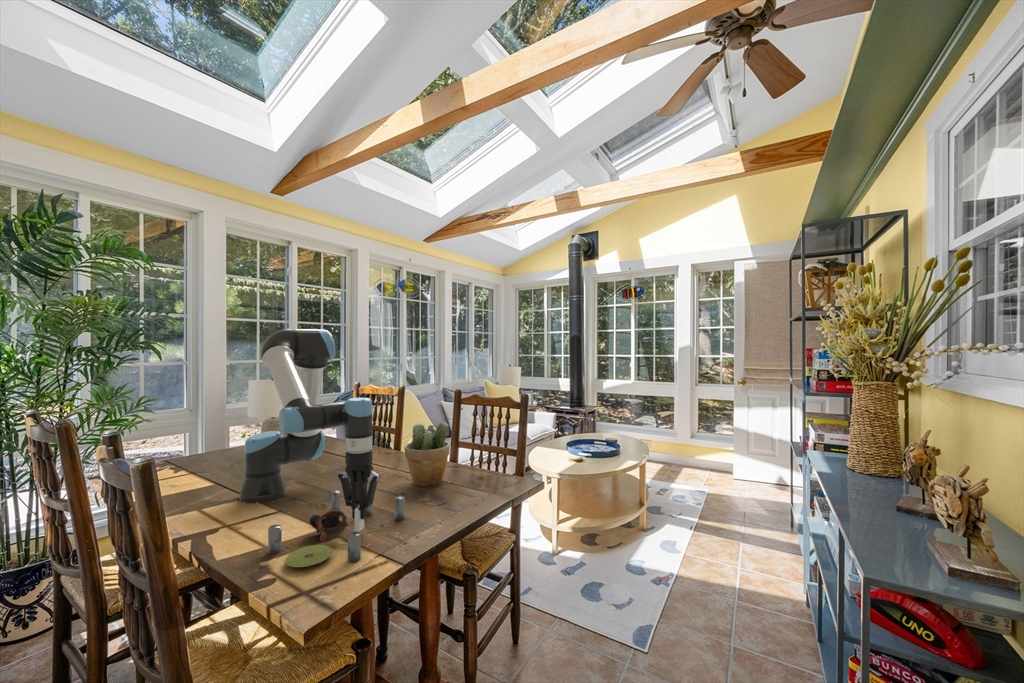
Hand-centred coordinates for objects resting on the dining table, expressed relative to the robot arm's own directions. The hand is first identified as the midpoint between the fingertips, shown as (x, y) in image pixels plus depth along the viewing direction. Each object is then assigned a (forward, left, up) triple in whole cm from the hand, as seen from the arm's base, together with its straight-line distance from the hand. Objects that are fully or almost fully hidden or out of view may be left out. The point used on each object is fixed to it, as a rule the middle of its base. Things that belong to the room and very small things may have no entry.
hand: (359, 529), depth 124 cm
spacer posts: (-9, 0, -2) cm, 9 cm away
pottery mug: (-10, -1, -3) cm, 11 cm away
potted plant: (+2, +47, -2) cm, 47 cm away
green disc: (-4, -16, -2) cm, 17 cm away
